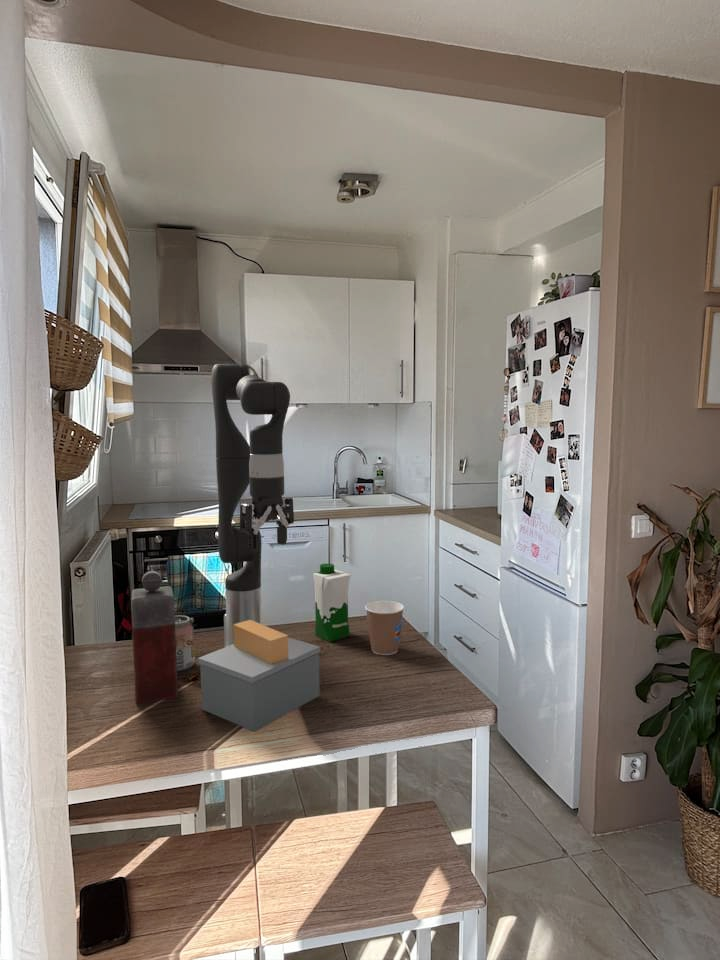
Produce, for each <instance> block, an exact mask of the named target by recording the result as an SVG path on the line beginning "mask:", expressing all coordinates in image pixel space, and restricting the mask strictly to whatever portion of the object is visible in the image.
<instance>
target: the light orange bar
mask: <svg viewBox="0 0 720 960" xmlns="http://www.w3.org/2000/svg"><path fill="white" fill-rule="evenodd" d="M233 631H234V646H235V647H237V648H239V649H241V650H243V651H245V652H247V653H249V654H251V655H253V656H255V657H257V658H259V659H261V660H263V661H265V662H267V663H270V664H273V663H276V662H279V661H282V660H285V659H288V638H289V635H288V634H285V633H284V632H281V631H279V630H276V629H274V628H271V627H269V626H266V625H264V624H259V623H257V622H255V621H252V620H248V621H244V622H241V623H237V624H233Z"/></svg>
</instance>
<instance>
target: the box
mask: <svg viewBox="0 0 720 960" xmlns="http://www.w3.org/2000/svg"><path fill="white" fill-rule="evenodd" d="M199 667H200V668H199V669H200V692H201V693H200V695H201V710H202V711H205V712H207V713H210V714H211V715H214V716H217V717H219V718H222V719H223V720H226V721H228V722H230V723H233V724H235V725H238V726H240V727H242V728H245V729H247V730H249V731H252V732H256V731H257V730H259V729H261V728H263V727H264V726H267V725H269V724H270V723H272V722H274V721H276V720H278V719H279V718H282V717H283V716H285V715H287V714H289V713H291V712H293V711H294V710H297V709H298V708H300V707H302V706H303V705H305V704H307V703H309V702H311V701H313V700H315V699H316V698H319V697H320V652H319V653H316V654H314V655H312V656H310V657H308V658H306V659H304V660H301V661H299V662H297V663H295V664H293V665H291V666H289V667H286V668H284V669H282V670H280V671H278V672H276V673H273V674H271V675H269V676H267V677H265V678H263V679H261V680H258V681H256V682H254V683H250V682H248V681H245V680H242V679H240V678H237V677H234V676H231V675H229V674H226V673H223V672H220V671H218V670H215V669H212V668H209V667H207V666H204V665H201V664H199Z"/></svg>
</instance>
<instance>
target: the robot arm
mask: <svg viewBox="0 0 720 960" xmlns="http://www.w3.org/2000/svg"><path fill="white" fill-rule="evenodd" d="M211 369H212V370H211V378H210V380H211V393H212V395H211V396H212V402H213V405H212V406H213V411H214V422H215V423H214V424H215V426H214V427H215V462H216V466H215V467H216V482H217V495H218V496H217V497H218V521H217V522H218V528H217V530H218V531H217V533H218V535H217V538H218V539H217V541H218V542H217V545H218V546H217V547H218V555H219V558H220V561H221V562H222V563H224V564H235V563H245V562H246V563H245V564H244V566H243V567H241V568H240V569H238V570H235V571H234V572H232V573H230V574H228V575H227V576H226V578H225V580H224V581H225V583H224V584H225V585H224V586H225V587H224V588H225V614H224V615H223V628H224V629H223V631H224V648H225V647H228V646H230V645H233V644H234V631H233V624H237V623H241V622H244V621H248V620H252V621H255V622H257V623H259V624H262V623H263V620H262V612H263V611H262V581H261V580H262V534H261V532H260V528H261V527H262V526H264V525H265V522H269V521H274V523H275V524H276V525H277V527H276V543H277V544H278V545H286V544H287V541H288V527H289V525H291V524H292V525H293V524H294V522H295V518H294V517H295V516H294V514H295V513H294V510H295V509H294V499H293V498H292V497H288V496H284V495H285V463H284V462H285V461H284V455H283V433H284V426H285V421H286V417H287V414H288V411H289V406H290V402H291V393H290V390H289V387H288V386H287V385H286V384H285V383H284V382H282V381H266V380H265V379H263V378H261V377H259V375H258V373H257V372H256V370H255V369H254V368H253V367H252V366H251V365H249V364H245V363H243V364H242V363H240V364H239V363H216V364H214V366H213V367H212V368H211ZM227 401H240V405H241V409H242V410H243V412H244V413H246V414H248V415H252V416H253V415H254V416H255V415H256V416H257V415H259V416H260V415H263V416H264V415H265V416H266V415H270V416H271V418H270V419H269V422H267V423H264V424H261V425H257V426H254V427H252V428H250V430H249V443H248V441H247V439H246V438H245V437H244V435H243V434H242V432H241V431H240V430H239V429H238V426H237V425H236V424H235V422H234V420H233V418H232V416H231V414H230V411H229V407H228V402H227ZM248 487H249V495H250V497H251V500H252V501H251V503H249V504H247V503H241V504H240V506H239V526H233V525H232V524H233V518H234V516H235V515H234V514H235V511H236V509H237V507H238V504H239V502H240V501H241V499H242V497H243V496H244V493H245V492H246V491H247V489H248ZM262 625H263V624H262Z"/></svg>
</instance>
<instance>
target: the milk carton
mask: <svg viewBox="0 0 720 960" xmlns="http://www.w3.org/2000/svg"><path fill="white" fill-rule="evenodd" d="M312 578H313V584H314V593H315V594H314V596H315V597H314V599H315V601H314V603H315V606H314V607H315V612H314V613H315V614H314V615H315V625H314V627H315V630H314V631H315V633H314V635H315V636H316V637H319V638H320V639H322V640H325V641H327V642H329V643H331V642H335V640H336V641H338V639H339V640H342V639H341V638H343V639H345V638H344V637H346V638H348V637H347V636H349V637H351V635H350V633H351V632H350V625H349V585H350V580H351V574H349V573H346V572H345V571H341V570H339V569H335V564H333V563H322V564H320V565H319V571H317V572H315V573H312Z"/></svg>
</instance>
